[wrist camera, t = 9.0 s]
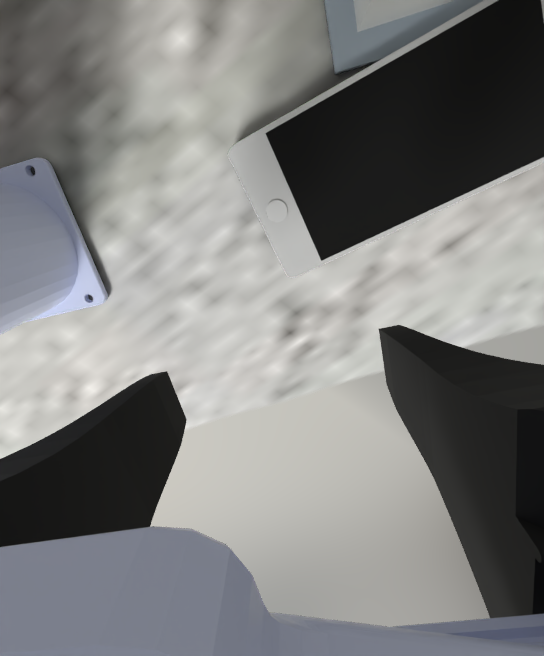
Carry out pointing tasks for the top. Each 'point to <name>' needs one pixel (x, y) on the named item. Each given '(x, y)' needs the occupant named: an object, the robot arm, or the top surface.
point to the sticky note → (380, 32)
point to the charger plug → (389, 10)
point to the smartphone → (401, 137)
